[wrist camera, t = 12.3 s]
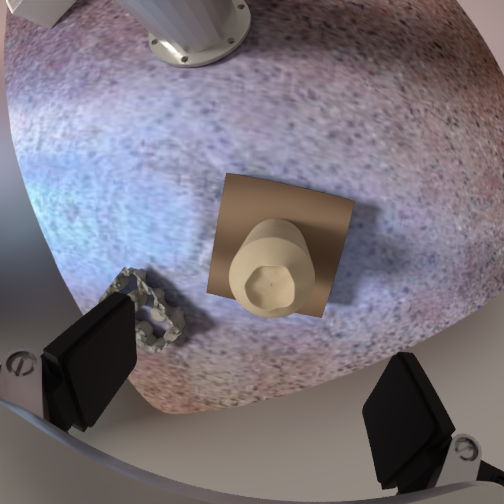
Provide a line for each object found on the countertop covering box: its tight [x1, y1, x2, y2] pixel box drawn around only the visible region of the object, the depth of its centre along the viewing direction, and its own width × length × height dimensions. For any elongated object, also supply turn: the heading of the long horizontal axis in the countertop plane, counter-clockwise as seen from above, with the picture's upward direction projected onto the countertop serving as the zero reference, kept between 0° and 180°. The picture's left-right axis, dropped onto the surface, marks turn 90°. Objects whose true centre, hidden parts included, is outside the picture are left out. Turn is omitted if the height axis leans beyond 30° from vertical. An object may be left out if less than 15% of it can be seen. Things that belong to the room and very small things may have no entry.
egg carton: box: [99, 267, 186, 353], centre depth 32 cm, size 11×8×4 cm
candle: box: [229, 219, 315, 318], centre depth 21 cm, size 6×6×10 cm
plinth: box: [206, 173, 355, 318], centre depth 28 cm, size 12×12×4 cm
